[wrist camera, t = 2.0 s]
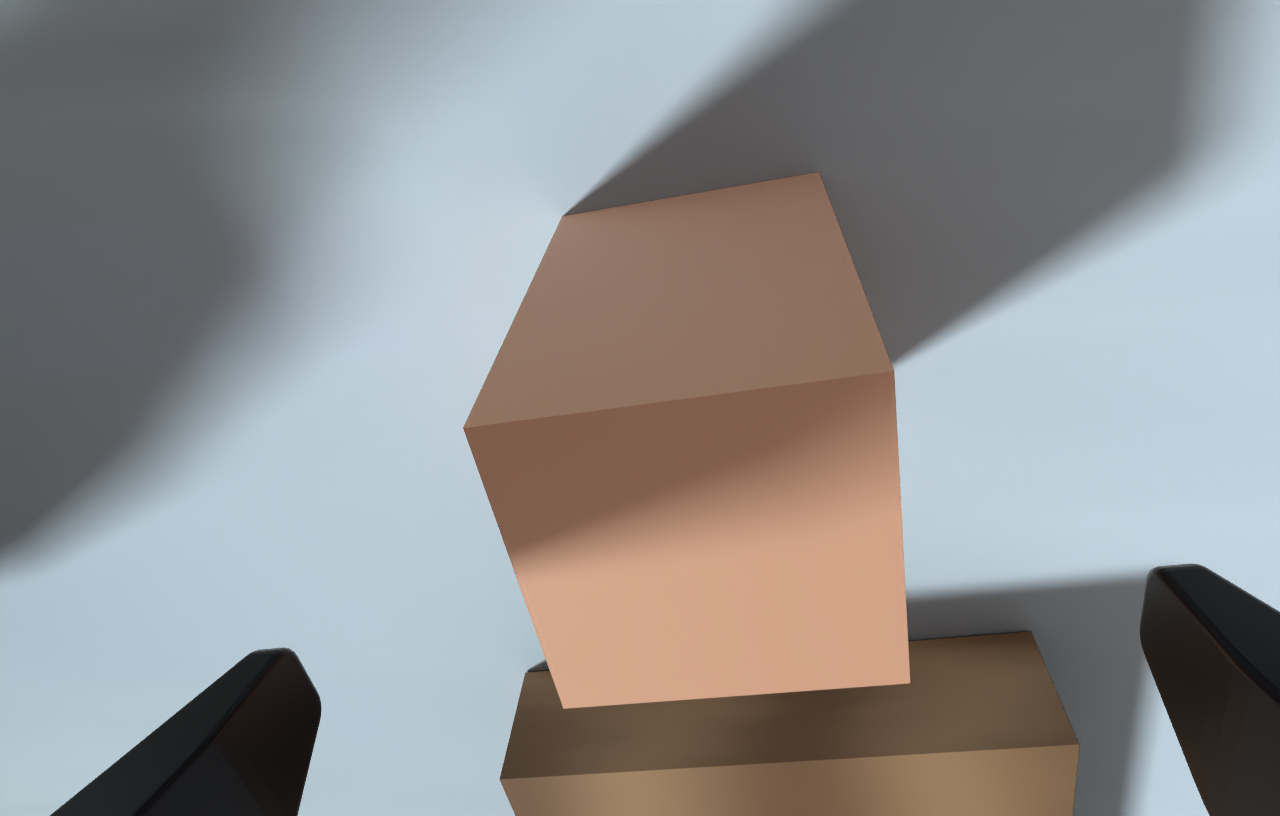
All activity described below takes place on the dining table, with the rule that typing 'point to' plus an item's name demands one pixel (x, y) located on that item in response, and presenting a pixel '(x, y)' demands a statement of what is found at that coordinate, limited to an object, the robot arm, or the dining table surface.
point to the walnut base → (812, 746)
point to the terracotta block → (700, 453)
